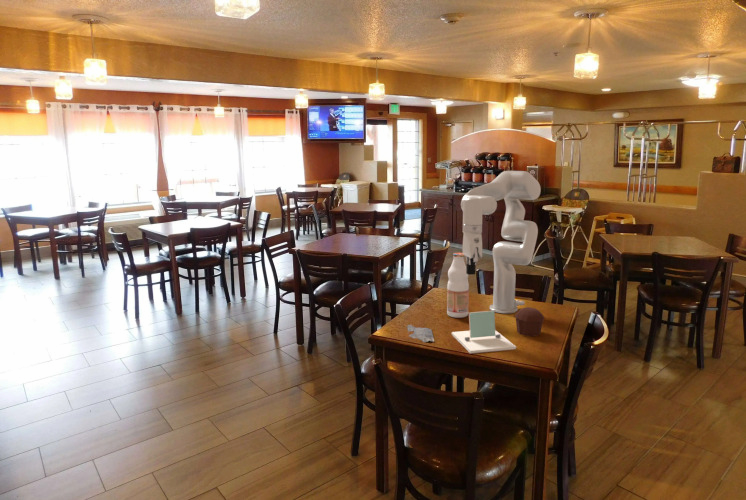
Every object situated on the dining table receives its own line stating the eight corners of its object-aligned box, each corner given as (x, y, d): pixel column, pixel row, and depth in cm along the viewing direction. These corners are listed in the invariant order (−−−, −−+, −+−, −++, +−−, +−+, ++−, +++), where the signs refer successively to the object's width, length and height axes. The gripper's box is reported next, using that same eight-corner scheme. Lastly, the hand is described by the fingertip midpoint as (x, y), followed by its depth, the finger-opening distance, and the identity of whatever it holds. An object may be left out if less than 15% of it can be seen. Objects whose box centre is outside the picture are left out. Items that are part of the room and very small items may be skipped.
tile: (493, 310, 203) (494, 311, 202) (494, 335, 203) (495, 335, 202) (468, 312, 201) (469, 312, 200) (469, 337, 201) (470, 337, 200)
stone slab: (405, 325, 219) (429, 323, 219) (406, 329, 219) (429, 327, 219) (409, 342, 201) (435, 340, 201) (410, 346, 202) (435, 344, 202)
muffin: (508, 330, 214) (509, 306, 212) (530, 326, 218) (531, 303, 216) (527, 339, 203) (528, 314, 201) (550, 335, 208) (551, 311, 206)
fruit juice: (443, 316, 232) (444, 254, 227) (451, 310, 240) (452, 250, 235) (463, 319, 228) (464, 256, 222) (471, 313, 235) (472, 252, 230)
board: (493, 330, 213) (493, 325, 213) (516, 349, 194) (516, 343, 193) (451, 334, 210) (451, 329, 209) (470, 353, 190) (470, 347, 190)
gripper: (488, 231, 199) (487, 277, 203) (473, 225, 214) (472, 269, 217) (470, 231, 198) (468, 278, 201) (456, 226, 212) (455, 270, 216)
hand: (470, 274), depth 209 cm, fingers closed
